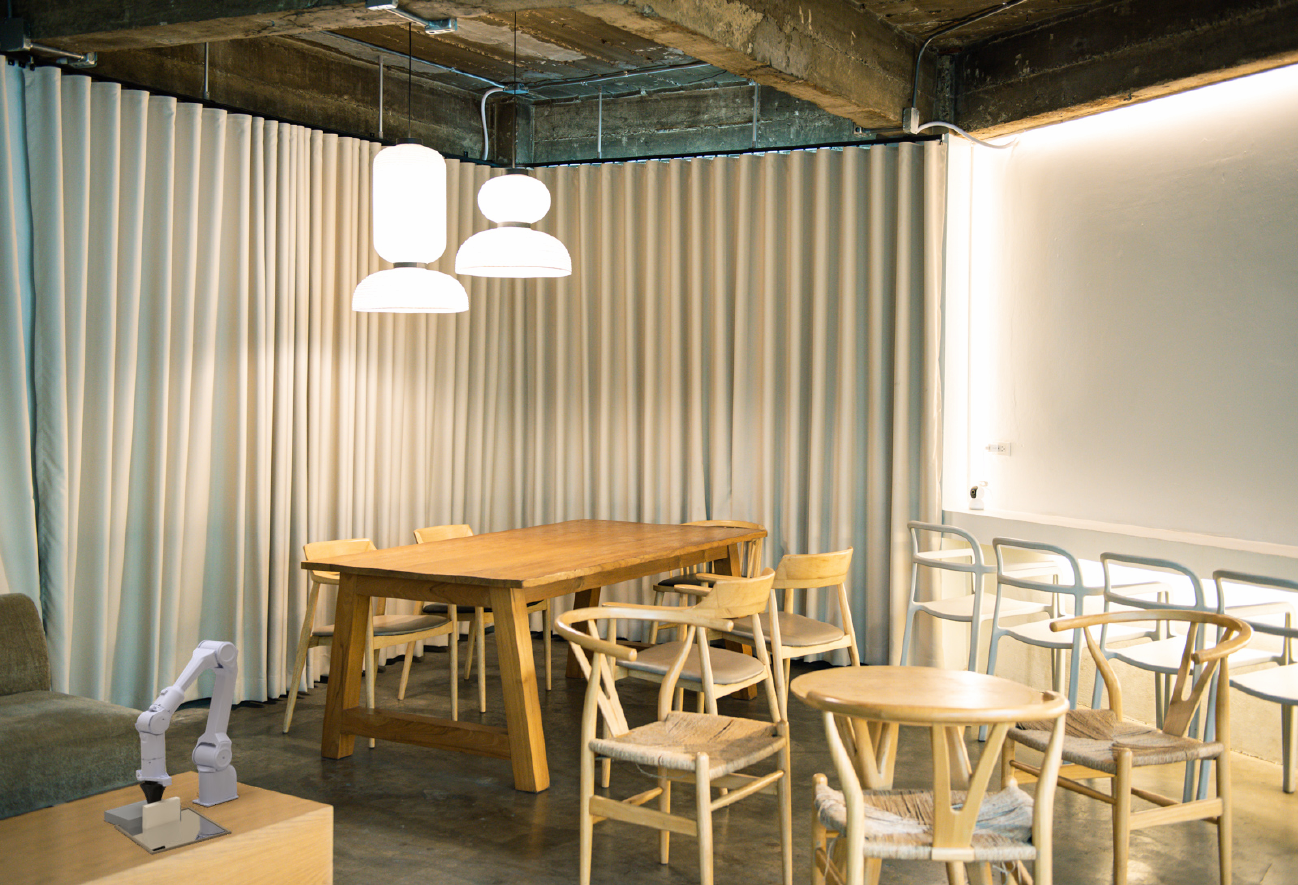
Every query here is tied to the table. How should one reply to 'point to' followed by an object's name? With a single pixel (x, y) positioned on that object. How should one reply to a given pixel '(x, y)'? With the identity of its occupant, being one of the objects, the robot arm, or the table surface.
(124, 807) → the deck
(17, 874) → the table surface
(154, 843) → the picture frame
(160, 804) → the tile
